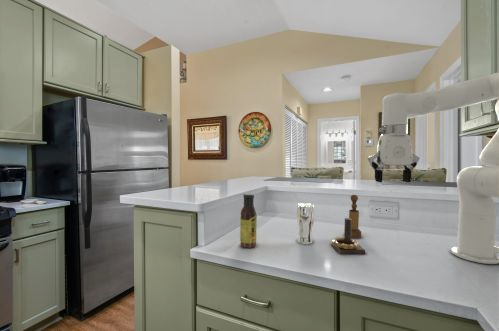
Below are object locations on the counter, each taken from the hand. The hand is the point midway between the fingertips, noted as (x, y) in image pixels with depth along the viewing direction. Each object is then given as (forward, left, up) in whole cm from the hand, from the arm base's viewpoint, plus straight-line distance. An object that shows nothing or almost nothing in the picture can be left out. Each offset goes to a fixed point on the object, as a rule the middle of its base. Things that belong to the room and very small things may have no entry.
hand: (392, 181), depth 84 cm
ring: (+13, -7, -24) cm, 28 cm away
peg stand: (+12, -7, -26) cm, 30 cm away
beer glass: (+26, -15, -26) cm, 40 cm away
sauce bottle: (+49, -11, -26) cm, 57 cm away
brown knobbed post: (+3, -22, -26) cm, 35 cm away
